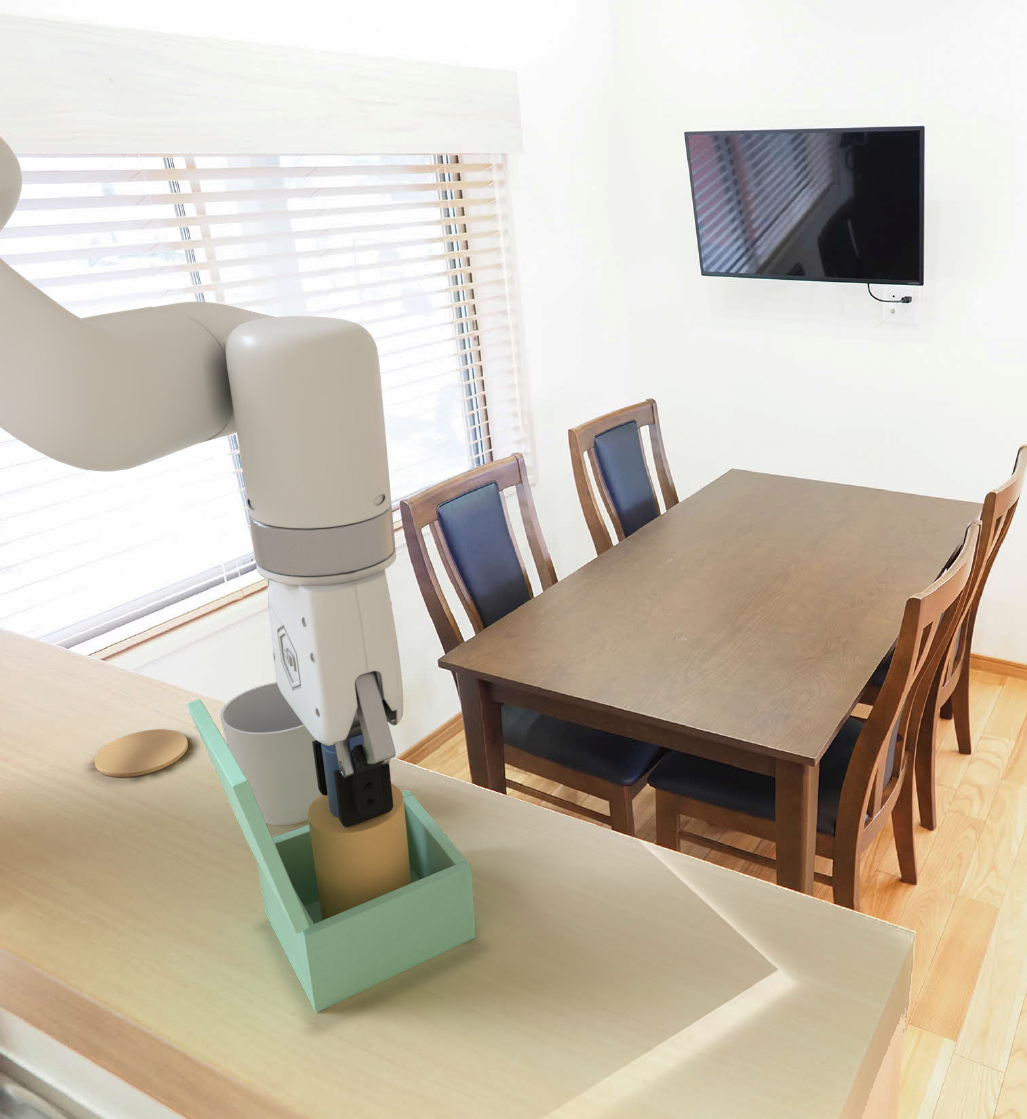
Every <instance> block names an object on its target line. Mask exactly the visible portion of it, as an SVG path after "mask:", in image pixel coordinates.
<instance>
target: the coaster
mask: <svg viewBox="0 0 1027 1119" xmlns="http://www.w3.org/2000/svg"><path fill="white" fill-rule="evenodd" d="M188 748H189V741H188V738H187V737H186V736H185V735H184V734H183V733H182V732H181V731H180V732H179V731H177V730H173V729H167V728H166V729H164V728H161V729H160V728H159V729H158V728H157V729H148V730H142V731H136V732H134V733H129V734H126V735H124V736H121V737H119V738H117V739H115V740H112V741H111V742H109V743H107V744H106V745H105V746H104V747H102V748H101V749H100V750H99V751H98V752H97V754H96V755H95V758H94V765H95V768H96V770H97V771H98V772H99V773H100V774H102V775H105V776H108V777H112V778H113V777H114V778H130V777H139V776H143V775H148V774H151V773H154V772H158V771H160V770H163V769H165V768H167V767H169V766H171V765H173V764H174V763H176V762H177V761H179V760H180V759H181V758H182V757H183V756H184V755H185V754H186V752H187V751H188Z"/></svg>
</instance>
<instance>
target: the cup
mask: <svg viewBox="0 0 1027 1119" xmlns="http://www.w3.org/2000/svg"><path fill="white" fill-rule="evenodd" d="M219 716H220V717H219V718H220V722H221V725H222V729H223V733H224V737H225V742H226V744H227V745H228V747H229V749H230V750H231V752H232V754H233V756H234V757H235V759H236V761H237V762H238V764H239V766H240V768H241V769H242V771H243V773H244V774H245V776H246V778H247V780H248V782H249V784H250V786H251V789H252V791H253V793H254V796H255V798H256V801H257V803H258V805H259V808H260V810H261V812H262V815H263V817H264V820H265V822H266V824H267V825H271V826H272V825H274V826H290V825H291V826H292V825H296V824H300V823H303V822H306V821H308V810H309V807H310V805H311V804H312V802H313V801H314V800H315V799H316V798H317V797H318V796H319V795H320V794H321V793H320V791H319V789H318V783H317V775H316V768H315V760H314V753H313V745H312V741H315V740H316V739H315V738H314V737H313V736H312V734H311V733H310V732H309V731H308V729H307V728H306V727H305V725H304V724H303V723H302V721H301V720H300V719H299V717H298V716H297V715H296V713H295V712H294V711H293V709H292V708H291V706H290V705H289V703H288V702H287V701H286V699H285V698H284V696H283V695H282V693H281V691H280V689H279V687H278V685H277V681H274V682H270V683H266V684H261V685H259V686H255V687H253V688H250V689H248V690H245V691H243V692H241V693H239V694H238V695H236V696H234V697H233V698H231V699H230V700H229V701H227V703H226V704H225V705H224V706H223V707H222V710H221V711H220V715H219Z"/></svg>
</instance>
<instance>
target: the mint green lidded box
mask: <svg viewBox="0 0 1027 1119" xmlns="http://www.w3.org/2000/svg"><path fill="white" fill-rule="evenodd" d="M401 792H402V794H403V799H404V809H405V820H406V831H407V841H408V852H409V863H410V873H411V884H409V885H406V886H404V887H401V888H399V889H397V890H394V891H392V892H389V893H387V894H385V895H382V896H380V897H377V898H375V899H373V900H370V901H368V902H365V903H363V904H361V905H358V906H356V907H354V908H351V909H349V910H346V911H344V912H342V913H339V914H337V915H334V916H332V917H330V918H327V919H325V920H322V914H321V907H320V900H319V892H318V885H317V878H316V871H315V864H314V857H313V849H312V842H311V835H310V828H309V824H306V825H304V826H301V827H297V828H295V829H293V830H290V831H287V832H284V833H282V834H279V835H276V836H272V838H273V841H274V843H275V846H276V848H277V850H278V853H279V855H280V857H281V860H282V862H283V865H284V867H285V869H286V872H287V874H288V876H289V879H290V881H291V883H292V886H293V888H294V891H295V893H296V895H297V898H298V900H299V902H300V905H301V907H302V909H303V912H304V914H305V917H306V919H307V921H308V924H309V927H308V928H307V929H305V930H303V931H302V932H300V933H298V934H296V933H295V931H294V929H293V927H292V925H291V924H290V922H289V920H288V918H287V916H286V914H285V912H284V910H283V909H282V907H281V905H280V903H279V901H278V899H277V897H276V895H275V894H274V892H273V890H272V888H271V886H270V884H269V882H268V880H267V878H266V877H265V875H264V873H263V871H262V869H261V867H260V865H259V863H258V862H257V861H256V865H257V869H258V876H259V882H260V888H261V894H262V900H263V906H264V912H265V915H266V917H267V921H268V922H269V924H270V925H271V928H272V930H273V932H274V933H275V935H276V937H277V939H278V942H279V943H280V945H281V947H282V949H283V952H284V953H285V955H286V958H287V959H288V961H289V963H290V965H291V968H292V969H293V971H294V973H295V975H296V977H297V979H298V981H299V983H300V984H301V987H302V989H303V991H304V993H305V996H306V997H307V999H308V1000H309V1002H310V1004H311V1007H312V1008H313V1011H314V1014H315V1013H316V1014H317V1013H320V1012H321V1011H324V1010H326V1009H328V1008H330V1007H332V1006H334V1005H337V1004H339V1003H341V1002H343V1001H345V1000H347V999H349V998H351V997H354V996H355V995H358V994H360V993H362V992H364V991H366V990H368V989H371V988H372V987H374V986H376V985H379V984H381V983H383V982H385V981H387V980H389V979H392V978H393V977H396V976H398V975H400V974H402V973H404V972H406V971H408V970H410V969H412V968H414V967H416V966H418V965H420V964H423V963H425V962H427V961H429V960H431V959H433V958H435V957H438V956H439V955H442V954H444V953H446V952H448V951H450V950H452V949H454V948H456V947H458V946H461V945H463V944H465V943H467V942H469V941H471V940H474V939H475V938H477V937H476V936H477V931H476V917H475V916H476V914H475V901H474V886H473V884H474V883H473V867H472V864H470V863H469V861H468V860H467V859H466V857H465V856H464V855H463V854H462V852H461V851H460V850H459V849H458V848H457V847H456V846H455V845H454V844H455V843H453V842H452V841H451V839H450V838H449V837H448V836H447V835H446V832H444V831H443V830H442V828H441V827H440V826H439V825H438V823H437V822H436V821H435V820H434V818H433V817H432V816H431V815H430V813H429V812H428V811H427V810H426V809H425V808H424V806H423V805H422V804H421V803H420V801H419V800H418V799H417V798H416V796H415V795H414V794H413V793H412V792H411V791H410V789H405V790H401Z"/></svg>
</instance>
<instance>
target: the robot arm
mask: <svg viewBox="0 0 1027 1119" xmlns="http://www.w3.org/2000/svg"><path fill="white" fill-rule="evenodd" d="M22 187H23V176H22V169H21V165H20V162H19V159H18V157H17V156H16V154H15V153H14V151H13V149H12V147H11V146H10V145H9V143H7V141H5V140H4V139H3V137H2V136H0V232H1V231H2V230H3V229H4V227H5V226H6V225H7V223H8V222H9V220H10V219H11V217H12V215H13V213H14V212H15V210H16V208H17V205H18V202H19V200H20V197H21V194H22V189H23V188H22ZM384 410H385V409H384V400H383V389H382V379H381V367H380V357H379V351H378V346H377V344H376V341H375V339H374V337H373V336H372V333H370V332H369V330H368V329H367V328H365V327H364V326H362V325H361V324H359V323H357V322H354V321H351V320H347V319H342V318H336V317H328V316H327V317H326V316H311V315H292V316H291V315H289V316H288V315H287V316H274V315H269V314H264V313H260V312H256V311H252V310H248V309H244V308H240V307H236V306H233V305H228V304H223V303H217V302H209V301H184V302H176V303H175V302H174V303H170V304H164V305H158V306H146V307H140V308H134V309H128V310H127V309H126V310H122V311H114V312H109V313H101V314H97V315H92V316H86V317H80V316H77V315H76V314H74V313H73V312H71V311H70V310H68V309H67V308H65V307H64V306H62V305H61V304H60V303H58V302H57V301H56V300H54V299H53V298H52V297H50V296H49V295H47V294H46V293H45V292H44V291H43V290H41V289H39V287H37V286H36V285H34V284H33V283H32V282H30V281H29V280H28V279H26V277H24V276H22V274H20V273H19V272H18V271H17V270H15V269H14V268H13V267H11V266H10V265H9V264H8V263H7V262H6V261H5V260H3V258H1V257H0V428H1V429H2V430H3V431H4V432H6V433H7V434H9V435H10V436H12V437H14V438H15V439H16V440H18V441H19V442H21V443H23V444H24V445H26V446H28V447H30V448H31V449H33V450H35V451H36V452H38V453H40V454H43V455H44V456H46V457H49V458H50V459H52V460H55V461H56V462H59V463H61V464H64V465H68V466H71V467H74V468H77V469H80V470H85V471H94V472H104V473H105V472H109V473H111V472H118V471H125V470H129V469H134V468H137V467H140V466H142V465H146V464H148V463H150V462H154V461H156V460H159V459H161V458H164V457H166V456H170V455H171V454H175V453H177V452H179V451H183V450H185V449H187V448H191V447H193V446H195V445H198V444H202V443H206V442H209V441H212V440H216V439H219V438H224V437H227V436H230V435H233V434H236V437H237V443H238V449H239V456H240V463H241V470H242V478H243V483H244V484H243V485H244V490H245V497H246V504H247V511H248V520H249V527H250V533H251V542H252V546H253V554H254V559H255V566H256V572H257V573H258V574H259V575H260V576H261V577H263V578H264V579H266V582H267V584H266V585H267V601H268V612H269V613H268V614H269V626H270V635H271V645H272V656H273V657H272V658H273V666H274V667H273V668H274V676H275V677H274V678H275V682H277V685H278V687H279V689H280V691H281V693H282V695H283V696H284V698H285V699H286V701H287V702H288V703H289V705H290V706H291V708H292V709H293V711H294V712H295V713H296V715H297V716H298V717H299V719H300V720H301V721H302V723H303V724H304V725H305V727H306V728H307V729H308V731H309V732H310V733H311V734H312V736H313V737H314V738H315V739H316V740H315V741H312V745H313V753H314V760H315V768H316V775H317V783H318V789H319V791H320V793H321V794H322V795H325V796H326V795H328V793H327V785H326V777H325V769H324V762H323V754H322V746H321V743H322V744H325V745H328V746H330V745H334V744H335V746H336V752H337V758H338V764H339V770H336V771H334V779H335V787H336V795H337V803H338V811H339V819H340V822H341V823H342V825H343V826H344V827H350V826H353V825H356V824H358V823H361V822H364V821H367V820H369V819H372V818H375V817H378V816H380V815H383V814H386V813H388V812H390V811H391V810H392V809H393V797H392V787H391V783H392V777H391V768H390V767H391V766H390V764H391V763H390V762H391V759H393V758H395V757H396V753H397V752H396V748H395V744H394V740H393V736H392V732H391V729H390V726H389V725H391V726H397V725H398V724H399V723H400V722H401V720H402V718H403V715H404V689H403V687H404V686H403V679H402V678H403V676H402V668H401V667H402V666H401V660H400V658H401V657H400V652H399V644H398V638H397V630H396V623H395V619H394V618H395V617H394V612H393V602H392V600H391V594H390V589H389V583H388V578H387V573H386V570H387V569H388V568H390V567H391V566H392V565H393V564H394V563H395V561H396V558H397V549H396V541H395V529H394V517H393V516H394V514H393V504H392V494H391V481H390V471H389V459H388V458H389V456H388V446H387V436H386V423H385V412H384ZM362 734H363V737H364V743H363V744H359V745H356V746H354V748H353V749H352V751H351V749H350V743H349V738H353V737H356V736H359V735H362Z"/></svg>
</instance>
